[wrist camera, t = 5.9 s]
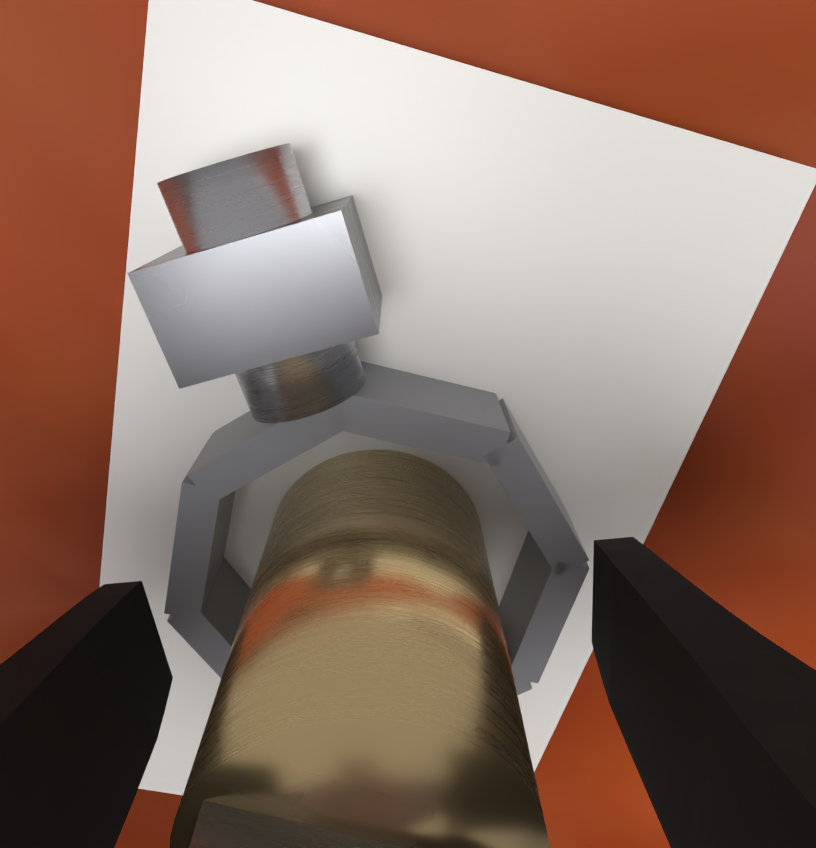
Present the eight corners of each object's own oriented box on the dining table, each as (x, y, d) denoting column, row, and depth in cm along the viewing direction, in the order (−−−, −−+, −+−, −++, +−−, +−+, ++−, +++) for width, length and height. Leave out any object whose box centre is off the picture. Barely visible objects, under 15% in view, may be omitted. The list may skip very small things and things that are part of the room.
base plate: (494, 806, 17) (509, 915, 15) (101, 742, 16) (49, 849, 13) (786, 167, 11) (895, 176, 8) (174, -15, 10) (101, -63, 7)
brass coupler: (516, 489, 12) (637, 844, 6) (436, 649, 13) (466, 1063, 7) (307, 419, 11) (206, 735, 5) (247, 594, 13) (113, 997, 7)
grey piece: (397, 347, 11) (397, 396, 9) (239, 390, 11) (205, 446, 9) (334, 132, 10) (317, 131, 8) (156, 186, 10) (95, 200, 8)
